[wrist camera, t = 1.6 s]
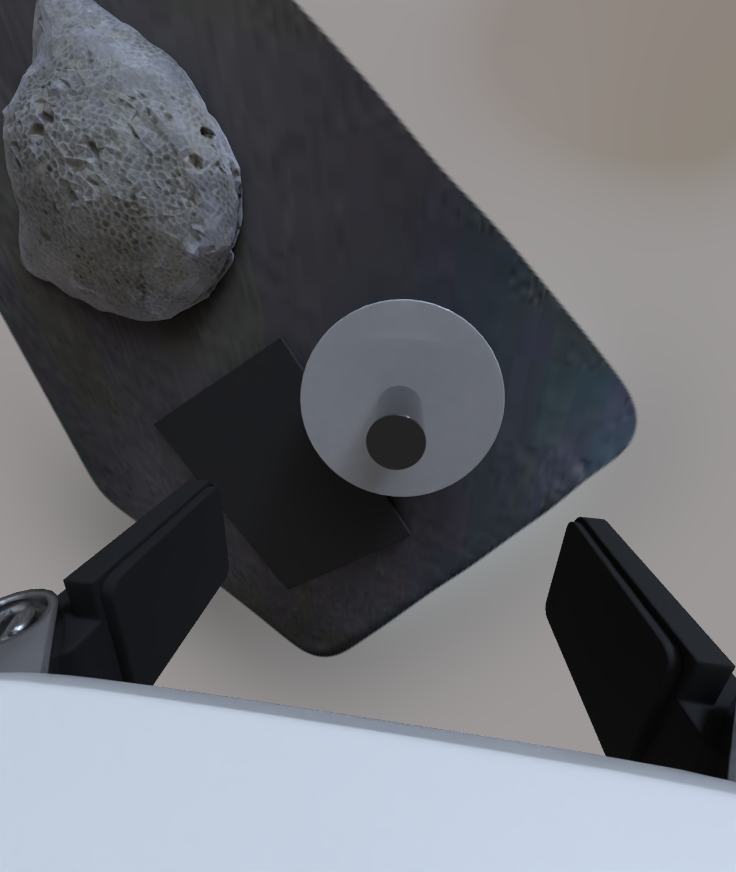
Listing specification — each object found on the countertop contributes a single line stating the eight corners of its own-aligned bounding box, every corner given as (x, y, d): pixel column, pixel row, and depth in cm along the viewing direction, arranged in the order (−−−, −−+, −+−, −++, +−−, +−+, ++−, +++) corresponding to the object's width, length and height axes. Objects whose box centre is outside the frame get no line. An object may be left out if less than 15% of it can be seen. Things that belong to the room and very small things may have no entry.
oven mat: (158, 421, 32) (153, 424, 31) (283, 336, 28) (280, 337, 28) (289, 584, 37) (287, 589, 36) (410, 531, 33) (410, 535, 32)
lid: (303, 294, 20) (255, 292, 14) (517, 304, 19) (568, 306, 13) (307, 480, 24) (271, 542, 18) (483, 495, 23) (510, 566, 17)
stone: (-8, -85, 19) (208, 35, 16) (128, 42, 26) (291, 137, 24) (-61, 246, 24) (97, 370, 22) (64, 274, 31) (192, 370, 29)
